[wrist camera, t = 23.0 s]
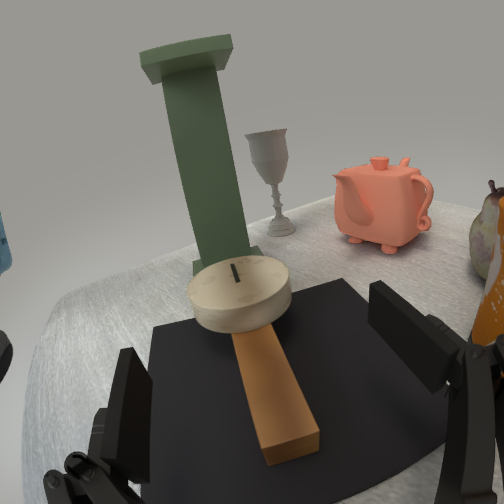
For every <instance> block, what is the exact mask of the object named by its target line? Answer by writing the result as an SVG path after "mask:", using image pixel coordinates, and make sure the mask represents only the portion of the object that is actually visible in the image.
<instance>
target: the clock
mask: <svg viewBox="0 0 504 504" xmlns="http://www.w3.org/2000/svg"><path fill="white" fill-rule="evenodd" d="M187 296H188V299H189V302H190V305H191V308H192V310H193V313H194V316H195V318H196V320H197V321H198V323H199V324H201V325H202V326H203V327H205V328H207V329H209V330H212V331H215V332H220V333H231V335H232V339H233V343H234V347H235V352H236V356H237V360H238V364H239V368H240V372H241V376H242V380H243V384H244V388H245V392H246V396H247V400H248V403H249V407H250V411H251V415H252V419H253V422H254V426H255V430H256V433H257V437H258V440H259V444H260V447H261V450H262V452H263V455H264V457H265V460H266V462H267V464H268V466H271V465H274V464H278V463H282V462H285V461H289V460H292V459H295V458H299V457H302V456H305V455H308V454H311V453H314V452H317V451H319V437H320V430H319V428H318V425H317V423H316V421H315V419H314V417H313V415H312V413H311V410H310V408H309V406H308V404H307V402H306V400H305V397H304V395H303V393H302V391H301V389H300V387H299V384H298V382H297V380H296V378H295V376H294V373H293V371H292V369H291V367H290V365H289V362H288V360H287V358H286V356H285V354H284V351H283V349H282V347H281V345H280V343H279V340H278V338H277V336H276V334H275V331H274V329H273V327H272V325H271V322H273V321H275V320H276V319H278V318H279V317H280V316H281V315H282V314H283V313H284V312H285V311H286V310H287V308H288V307H289V305H290V303H291V299H292V292H291V284H290V276H289V271H288V268H287V266H286V265H285V264H284V263H283V262H281V261H279V260H277V259H275V258H271V257H267V256H241V257H235V258H231V259H227V260H224V261H221V262H218V263H215V264H213V265H211V266H209V267H207V268H205V269H203V270H202V271H200V272H199V273H198V274H196V275H195V276H194V277H193V278H192V280H191V281H190V282H189V284H188V287H187Z"/></svg>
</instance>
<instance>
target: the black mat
mask: <svg viewBox="0 0 504 504" xmlns="http://www.w3.org/2000/svg"><path fill="white" fill-rule="evenodd" d="M368 305H369V303H368V302H367V301H366V300H365V299H364V298H363V297H362V296H361V295H359V294H358V293H357V292H356V291H355V290H354V289H353V288H352V287H351V286H350V285H349V284H348V283H347V282H346V281H345V280H344V279H343V278H340V279H337V280H334V281H331V282H327V283H324V284H321V285H317V286H314V287H311V288H307V289H304V290H300V291H297V292H293V293H292V299H291V303H290V305H289V307H288V308H287V310H286V311H285V312H284V313H283V314H282V315H281V316H280V317H279V318H278V319H276V320H275V321H273V322H271V325H272V327H273V329H274V331H275V334H276V336H277V338H278V340H279V343H280V345H281V347H282V349H283V351H284V354H285V356H286V358H287V360H288V362H289V365H290V367H291V369H292V371H293V373H294V376H295V378H296V380H297V382H298V384H299V387H300V389H301V391H302V393H303V395H304V397H305V400H306V402H307V404H308V406H309V408H310V410H311V413H312V415H313V417H314V419H315V421H316V423H317V425H318V428H319V430H320V437H319V451H317V452H314V453H311V454H308V455H305V456H302V457H299V458H295V459H292V460H289V461H285V462H282V463H278V464H274V465H271V466H268V464H267V462H266V460H265V457H264V455H263V452H262V450H261V447H260V444H259V440H258V437H257V433H256V430H255V426H254V422H253V419H252V415H251V411H250V407H249V403H248V400H247V396H246V392H245V388H244V384H243V380H242V376H241V372H240V368H239V364H238V360H237V356H236V352H235V347H234V343H233V339H232V335H231V333H220V332H215V331H212V330H209V329H207V328H205V327H203V326H202V325H201V324H199V323H198V321H197V320H196V318H192V319H188V320H183V321H179V322H174V323H170V324H165V325H160V326H156V327H154V328H153V334H152V341H151V348H150V355H149V363H148V371H147V372H148V374H149V376H150V377H151V379H152V380H153V389H152V404H151V424H150V484H141V499H142V500H143V501H144V502H145V503H146V504H333V503H336V502H338V501H341V500H343V499H346V498H348V497H351V496H353V495H355V494H358V493H360V492H362V491H364V490H366V489H368V488H371V487H373V486H375V485H377V484H379V483H381V482H383V481H384V480H386V479H388V478H390V477H392V476H394V475H395V474H397V473H399V472H401V471H402V470H404V469H406V468H408V467H409V466H411V465H412V464H414V463H416V462H417V461H419V460H420V459H422V458H423V457H425V456H426V455H428V454H429V453H431V452H432V451H434V450H435V449H437V448H438V447H439V446H441V445H442V444H443V443H445V442H446V432H447V421H448V402H449V393H448V394H447V396H446V397H444V396H445V393H446V391H447V389H448V387H449V386H448V384H447V383H445V385H444V387H443V388H442V389H440V390H439V391H437V392H436V393H434V394H433V395H432V394H431V393H430V392H429V391H428V389H427V388H426V387H425V386H424V385H423V384H422V382H421V381H420V380H419V379H418V378H417V377H416V376H415V374H414V373H413V372H412V371H411V370H410V369H409V368H408V366H407V365H406V364H405V363H404V362H403V361H402V360H401V359H400V357H399V356H398V355H397V354H396V353H395V352H394V351H393V350H392V349H391V347H390V346H389V345H388V344H387V343H386V342H385V341H384V340H383V339H382V338H381V336H380V335H379V334H378V333H377V332H376V331H375V330H374V329H373V328H372V327H371V326H370V325H369V323H368V322H367V319H368Z"/></svg>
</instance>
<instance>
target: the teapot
mask: <svg viewBox="0 0 504 504" xmlns="http://www.w3.org/2000/svg"><path fill="white" fill-rule="evenodd" d="M370 161H371V163H372V164H366V165H361V166H357V167H353V168H347V169H343V170H342V171H340V172H339V173H338V175H333V176H334V177H335V178H336V183H337V187H336V194H335V221H336V224H337V226H338V228H339V230H340V231H341V232H342V233H345V234H347V235H350V236H351V237H350V238H349V240H348V241H349V242H350V243H354V244H358V243H362V242H364V240H366V241H370V242H375V243H380V244H382V246H381V250H382V251H383V252H384V253H388V254H392V253H396V252H397V251H398V248H397V246H403V245H405V244H406V243H408V242H409V241H411V240H412V239H413V238H414V237H416V236H417V235H418V234H419V233H420V232H421V231H428V230H429V229H430V227H431V224H432V223H431V219H430V218H429V217H428V216H427V211H428V208H429V206H430V204H431V202H432V199H433V193H434V191H433V187H432V184H431V183H430V181H429V180H427V179H426V178H425V177H424V176H421V173H420V170H419V169H417V168H411V167H408V164H409V161H410V158H403V159H402V160H401V161H400V164H399V166H393V165H388V162H389V158H387V157H372V158H370ZM424 186H425V187H424ZM425 188H426V192H425ZM425 223H426V225H425Z"/></svg>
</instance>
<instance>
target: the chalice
mask: <svg viewBox="0 0 504 504" xmlns="http://www.w3.org/2000/svg"><path fill="white" fill-rule="evenodd" d="M286 130H287V129H280V130H272V131H265V132H259V133H253V134H247V135H245V137H246V138H247V140H248V141H249V146H250V152H251V158H252V162H253V164H254V166H255V168H256V170H257V172H258V173H259V174H260V176H261V177H262V178H263V180H264V181H265V183H266V184H270V185H271V186H272V189H273V190H272V197H273V199H274V205H273V207H274V208H275V210H276V216H275V218H274V219H272V221H271V222H270V226H269V231H268V235H270V236H285V235H289V234H291V233H293V232H294V231H295V228H294V227H293V226H292V225H293V224H292V223H291V222H290V220H289V219H288V218H287V217H283V216H284V215H282V212H281V207H282V204H281V203H280V201H279V199H280V195H281V194H280V193H279V191H278V183H280V182H282V180H283V177H284V174H285V171H286V167H287V162H288V151H287V146H286V139H285V133H286Z"/></svg>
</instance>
